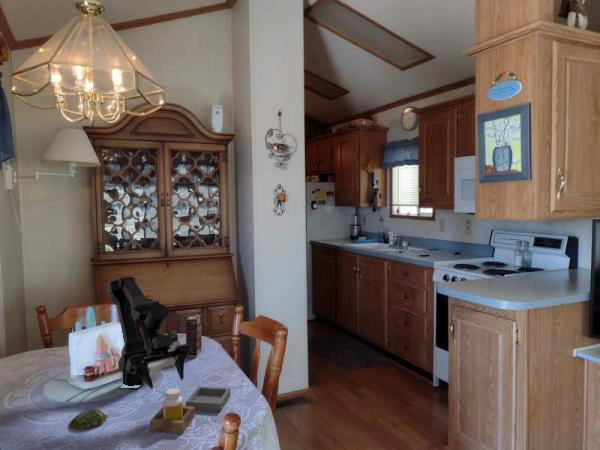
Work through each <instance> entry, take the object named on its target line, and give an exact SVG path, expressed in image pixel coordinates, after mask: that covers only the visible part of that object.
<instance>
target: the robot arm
mask: <svg viewBox="0 0 600 450" xmlns="http://www.w3.org/2000/svg"><path fill="white" fill-rule="evenodd" d="M106 293H107V295H108V297H109V300H110V301H111V302H112V303H113V304H114V305H115V306H116V310H117V314H118V319H119V324H120V329H122V333H123V338H124V342H123V343H124V345H123V346H122V349H121V351H120V353H121V356H120V358H119V359H118V364H117V365H118V370H120V371H121V372H122V385H123V384H125V385H128V386H134V385H142V384H143V383H144V382H145V383H144V384H146V385H147V386H148V387H149V388H150V390H151V389H153V387H154V385H153V381H152V378H151V375H150V372H149V369H147V367H148V363H151V362H156V361H160V360H164V359H168V358H173V357H174V360H176V361H175V365H174V366H175V368H176V371H177V374H178V376H179V379H180V380H181V381H183V380H184V376H185V375H184V374H185V362H186V361H185V359H186V360H187V359H188V358H189V357H188V356H189V354H190V353H191V351H192V349H191V346H190V345H189V344H186V343H183V344H181V345H178V346H177V347H176V349H175V350H174V351H170V352H168V350H169V349H170V348H171V347H170V345H173V342H176V341H179V338H178V333H177V331H176V330H173V331H172V330H171V331H169V332H168V333H167V334H164V333H163V332H162V327H163V326H164V324H165V322H166V320H167V318H168V316H169V314H170V311H169V308H168V307H167V306H166V305H164V304H163V303H162V304H161V303H160V301H159V300H155V301H154V300H153V299H152V298H149V297H147V296H145V294H144V293H143V291H142V290H141V289H140V286H139V285H138V284H137V282H136V278H135V276H131V275H130V276H122V277H119V278H117V279H116V280H111V281H109V282H108V283H107V284H106ZM134 320H135V321H136V322H139V321H144V322H143V323H142V324H141V326H140V333H142V336H143V340H140V339H139V338H138V334H137V330H136V325H135V321H134ZM122 333H121V334H122ZM123 338H122V339H123ZM144 384H143V385H144ZM143 385H142V386H143Z"/></svg>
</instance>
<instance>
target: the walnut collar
mask: <svg viewBox="0 0 600 450" xmlns="http://www.w3.org/2000/svg"><path fill="white" fill-rule="evenodd" d="M195 413H196V410H195V407H189V406H186V405H183V418H182V419H181V420H180V421H178V420H163V406H162V407H161V408H160V409H159V410H158V411H157V412H156V413H155V414H154V416H153V417H152V418H151V419H150V420H149V432H152V433H164V434H165V433H166V434H167V433H169V434H179V435H180V434H181V435H182V434H184V433H185V431H186V430H187V429H188V427H189V426H190V424H191V422H193V420H194V418H195V417H196V415H195Z"/></svg>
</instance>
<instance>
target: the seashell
mask: <svg viewBox="0 0 600 450" xmlns="http://www.w3.org/2000/svg"><path fill="white" fill-rule="evenodd" d="M106 420H108V414H106V413H104V412H103V411H102V409H101V410H100V409H98V408H88V409H85V410H83V411H82V412H80V413H79V414H77V415H76V416H74V418H73V419H71V420H70V422H69V423H68V428H70V429H71V430H74V431H85V430H90V429H93V428H95V427H96V428H97V427H101V426H103V423H104V422H106Z"/></svg>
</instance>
